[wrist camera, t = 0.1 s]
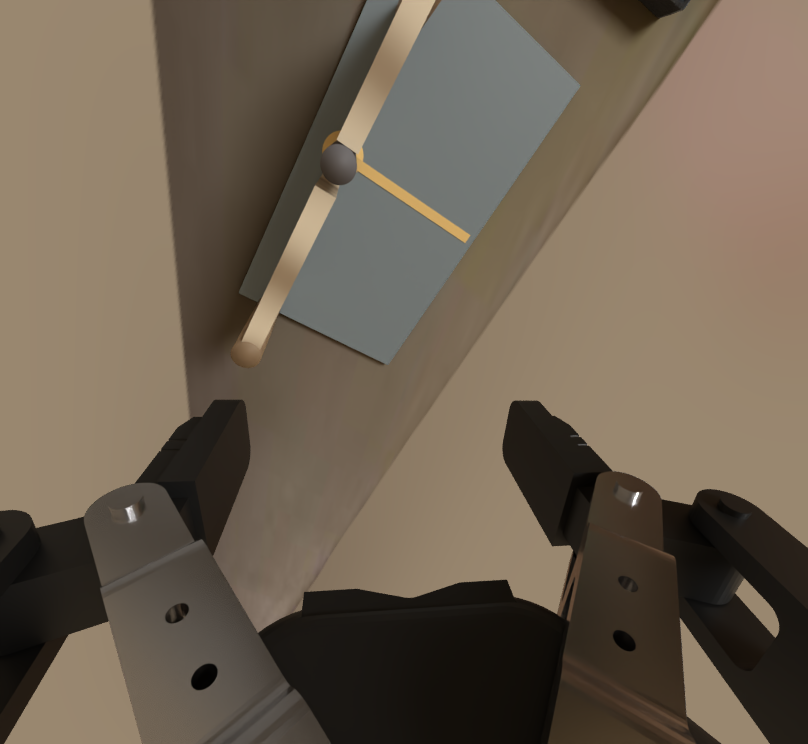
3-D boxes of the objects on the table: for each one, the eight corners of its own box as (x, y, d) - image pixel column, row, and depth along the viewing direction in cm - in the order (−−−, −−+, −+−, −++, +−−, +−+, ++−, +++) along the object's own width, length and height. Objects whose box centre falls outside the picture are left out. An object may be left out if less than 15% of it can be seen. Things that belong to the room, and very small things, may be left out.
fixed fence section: (404, -9, 23) (430, -80, 15) (428, 14, 24) (466, -43, 16) (325, 158, 27) (314, 172, 19) (348, 173, 28) (346, 192, 20)
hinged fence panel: (320, 167, 27) (309, 182, 20) (344, 183, 27) (341, 202, 20) (254, 309, 32) (226, 360, 25) (275, 319, 32) (254, 372, 25)
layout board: (404, -84, 22) (406, -90, 21) (576, 86, 27) (581, 85, 26) (240, 290, 32) (238, 293, 31) (387, 361, 37) (388, 365, 36)
